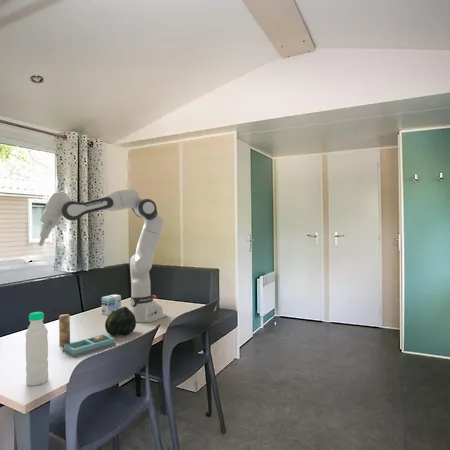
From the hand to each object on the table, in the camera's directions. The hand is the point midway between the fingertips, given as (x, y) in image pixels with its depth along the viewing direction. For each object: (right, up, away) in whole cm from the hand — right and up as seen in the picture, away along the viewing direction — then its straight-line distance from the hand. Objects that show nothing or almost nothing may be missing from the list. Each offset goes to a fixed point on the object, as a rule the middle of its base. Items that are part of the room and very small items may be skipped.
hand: (40, 245), depth 176 cm
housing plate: (+35, -46, -22) cm, 62 cm away
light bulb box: (+24, -46, +39) cm, 65 cm away
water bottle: (+29, -46, -55) cm, 78 cm away
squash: (+43, -46, -3) cm, 63 cm away
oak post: (+21, -46, -18) cm, 54 cm away
